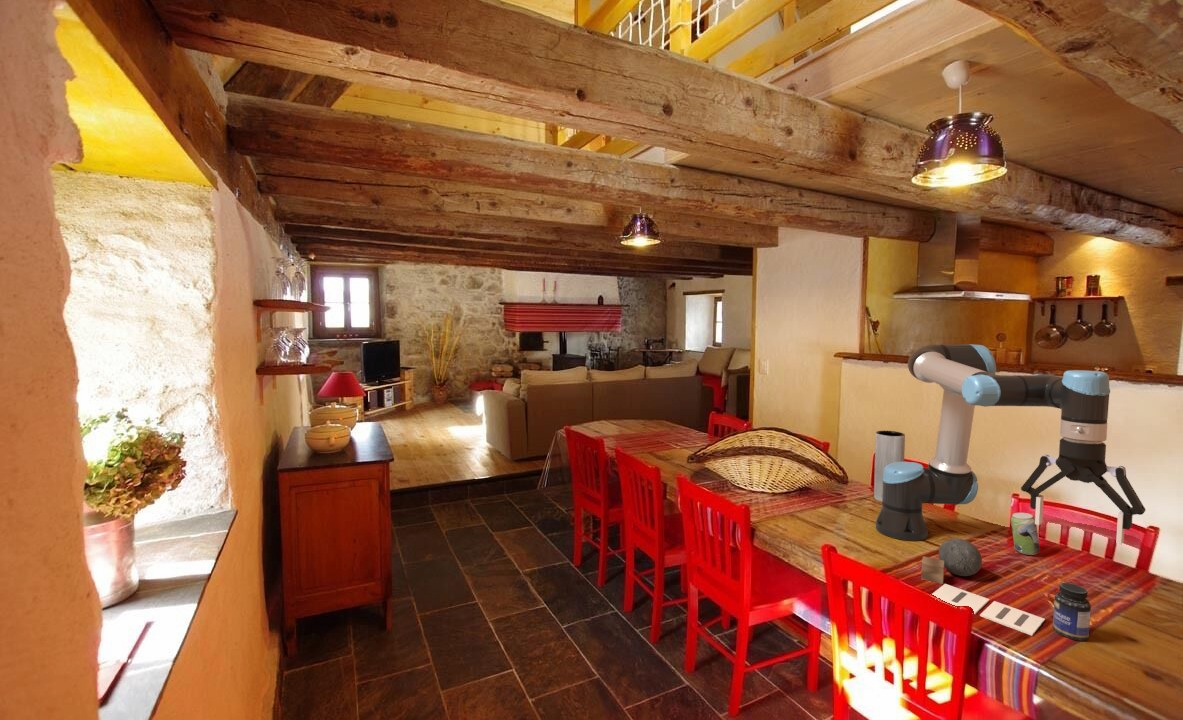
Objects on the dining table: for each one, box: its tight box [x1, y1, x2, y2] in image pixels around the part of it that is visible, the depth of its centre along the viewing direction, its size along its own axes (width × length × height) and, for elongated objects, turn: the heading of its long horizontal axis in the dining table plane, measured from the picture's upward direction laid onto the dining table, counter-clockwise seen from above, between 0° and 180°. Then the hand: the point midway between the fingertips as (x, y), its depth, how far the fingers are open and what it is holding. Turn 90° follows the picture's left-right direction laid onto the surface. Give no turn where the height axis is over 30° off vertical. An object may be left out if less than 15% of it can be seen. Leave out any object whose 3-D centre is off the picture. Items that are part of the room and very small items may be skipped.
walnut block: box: [920, 555, 945, 585], centre depth 144 cm, size 5×5×5 cm
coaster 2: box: [979, 600, 1046, 637], centre depth 125 cm, size 10×10×1 cm
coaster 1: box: [931, 583, 990, 615], centre depth 134 cm, size 10×10×1 cm
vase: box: [873, 430, 906, 503], centre depth 206 cm, size 10×10×27 cm
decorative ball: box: [938, 538, 983, 577], centre depth 147 cm, size 10×10×10 cm
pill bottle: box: [1052, 582, 1092, 642], centre depth 119 cm, size 6×6×11 cm
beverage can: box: [1010, 512, 1041, 556], centre depth 159 cm, size 6×7×12 cm
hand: (1077, 532), depth 117 cm, fingers open, 13 cm apart
